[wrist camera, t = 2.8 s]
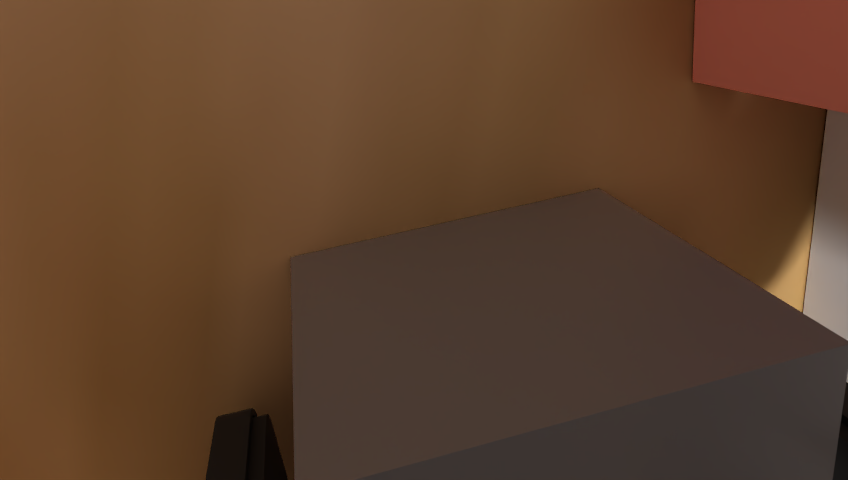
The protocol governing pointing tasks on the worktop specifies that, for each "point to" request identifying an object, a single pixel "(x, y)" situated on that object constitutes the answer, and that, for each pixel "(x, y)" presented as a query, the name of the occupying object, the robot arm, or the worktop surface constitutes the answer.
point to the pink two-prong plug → (800, 83)
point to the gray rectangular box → (554, 356)
